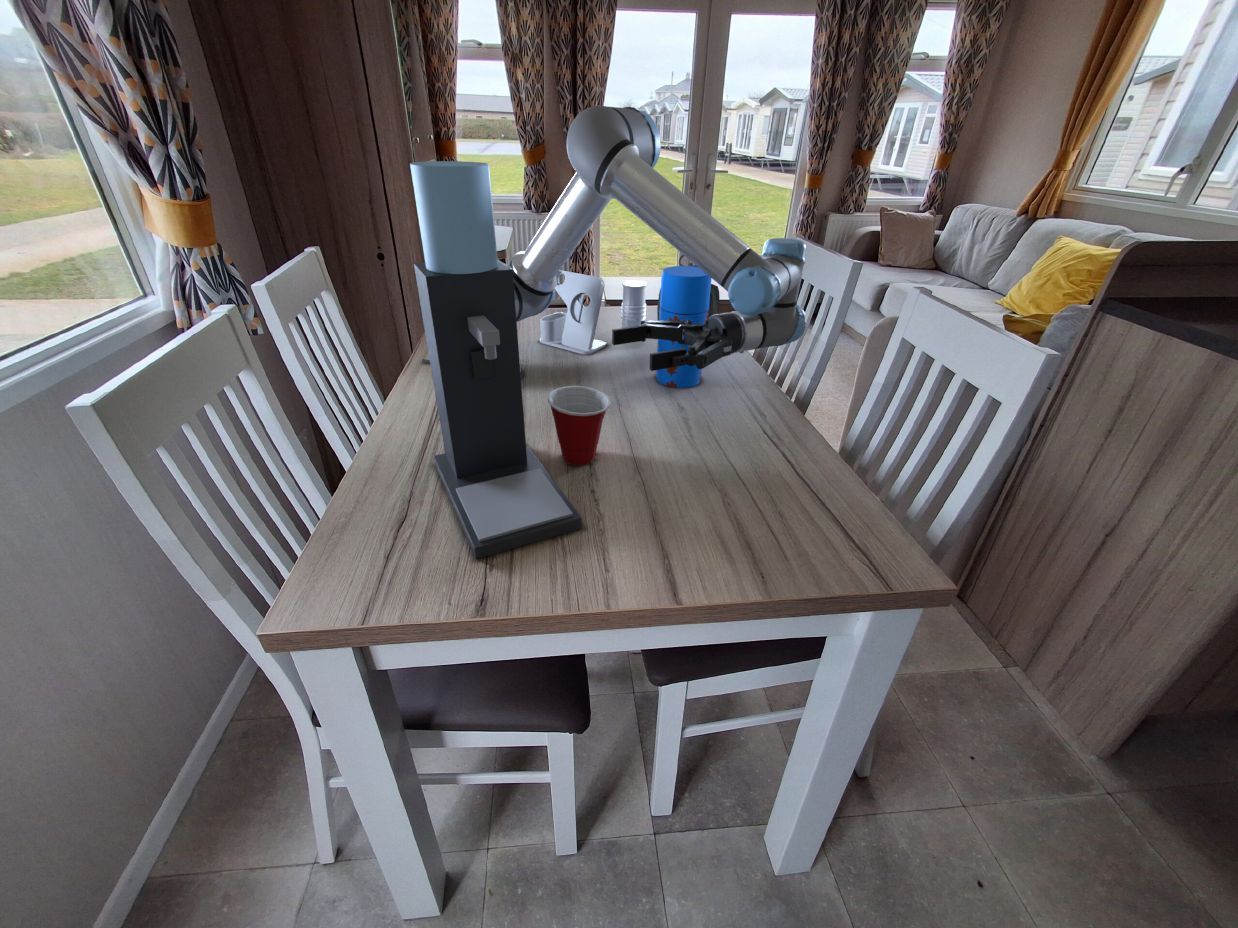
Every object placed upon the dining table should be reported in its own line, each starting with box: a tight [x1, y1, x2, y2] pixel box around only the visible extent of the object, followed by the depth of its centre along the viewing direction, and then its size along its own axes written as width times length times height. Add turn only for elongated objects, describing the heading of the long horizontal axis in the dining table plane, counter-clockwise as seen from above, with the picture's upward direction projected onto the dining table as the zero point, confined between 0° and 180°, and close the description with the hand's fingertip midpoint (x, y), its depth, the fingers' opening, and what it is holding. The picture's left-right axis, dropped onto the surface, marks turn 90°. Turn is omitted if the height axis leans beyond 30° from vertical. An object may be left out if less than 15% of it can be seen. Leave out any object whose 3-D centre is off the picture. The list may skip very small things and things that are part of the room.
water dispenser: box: [409, 160, 583, 560], centre depth 79 cm, size 28×16×47 cm, turn 27°
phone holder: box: [539, 269, 607, 356], centre depth 149 cm, size 17×10×18 cm, turn 55°
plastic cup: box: [546, 385, 611, 466], centre depth 98 cm, size 11×11×12 cm
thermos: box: [656, 265, 712, 389], centre depth 127 cm, size 11×11×25 cm
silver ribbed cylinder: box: [620, 279, 648, 328], centre depth 155 cm, size 7×7×15 cm
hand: (630, 349), depth 95 cm, fingers open, 13 cm apart
